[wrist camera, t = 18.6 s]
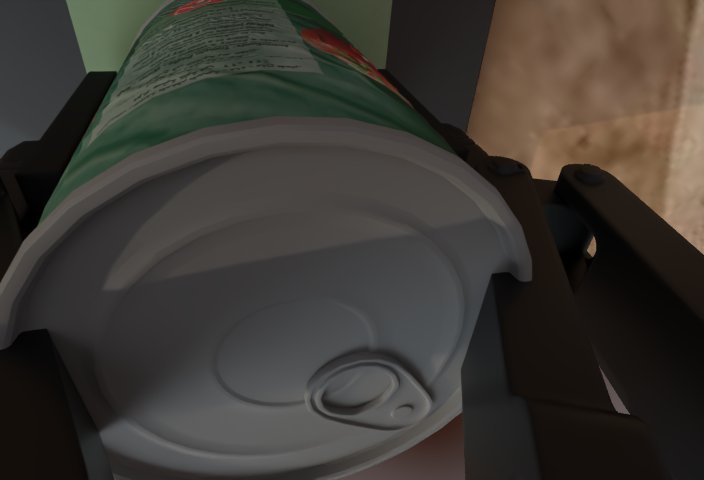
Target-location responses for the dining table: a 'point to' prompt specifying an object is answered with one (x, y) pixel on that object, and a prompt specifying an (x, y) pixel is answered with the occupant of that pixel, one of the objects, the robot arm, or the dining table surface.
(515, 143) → the dining table surface
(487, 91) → the dining table surface
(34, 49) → the black board
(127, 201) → the canned tomato
